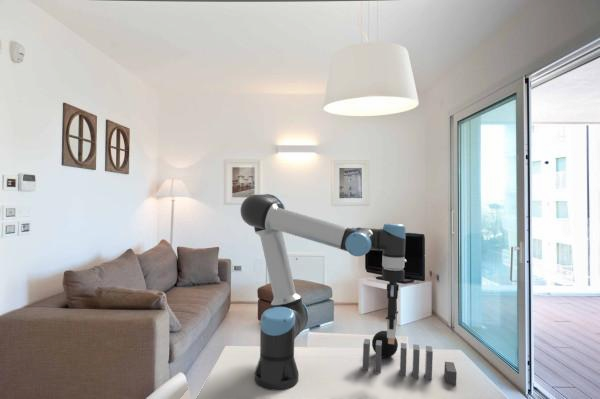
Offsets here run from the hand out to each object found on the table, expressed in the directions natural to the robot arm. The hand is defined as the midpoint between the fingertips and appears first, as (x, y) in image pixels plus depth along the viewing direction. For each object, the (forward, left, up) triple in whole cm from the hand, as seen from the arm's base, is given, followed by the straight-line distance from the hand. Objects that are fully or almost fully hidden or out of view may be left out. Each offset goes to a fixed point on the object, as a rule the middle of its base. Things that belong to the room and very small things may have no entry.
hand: (391, 334), depth 137 cm
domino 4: (+4, +7, -16) cm, 18 cm away
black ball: (-3, +19, -16) cm, 25 cm away
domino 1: (-9, +7, -16) cm, 19 cm away
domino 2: (-5, +7, -16) cm, 18 cm away
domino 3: (0, 0, -2) cm, 2 cm away
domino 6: (+13, +7, -16) cm, 22 cm away
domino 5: (+9, +7, -16) cm, 19 cm away
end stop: (+20, +7, -16) cm, 27 cm away
